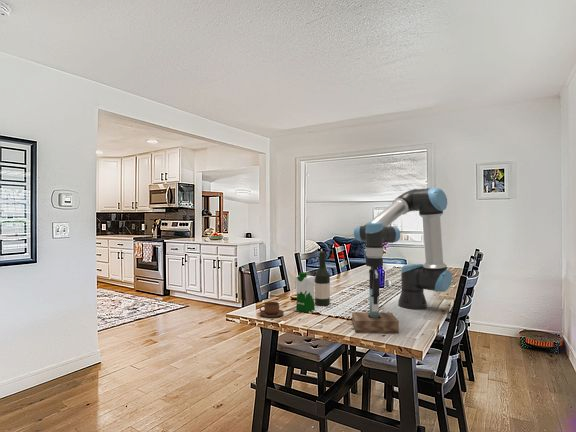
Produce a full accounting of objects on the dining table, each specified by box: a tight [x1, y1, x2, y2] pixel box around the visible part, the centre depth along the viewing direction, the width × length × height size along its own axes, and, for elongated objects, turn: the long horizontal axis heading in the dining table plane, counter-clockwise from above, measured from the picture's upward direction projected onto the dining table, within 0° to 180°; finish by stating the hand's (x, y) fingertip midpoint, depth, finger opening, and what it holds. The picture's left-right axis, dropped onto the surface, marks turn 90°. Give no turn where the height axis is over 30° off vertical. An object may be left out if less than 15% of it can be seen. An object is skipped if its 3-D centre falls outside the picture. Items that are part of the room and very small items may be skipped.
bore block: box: [351, 311, 400, 334], centre depth 163 cm, size 18×14×5 cm
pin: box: [368, 288, 380, 318], centre depth 163 cm, size 4×4×14 cm
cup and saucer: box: [259, 301, 285, 318], centre depth 184 cm, size 12×12×6 cm
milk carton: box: [294, 271, 316, 314], centre depth 194 cm, size 9×9×20 cm
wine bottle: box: [314, 250, 331, 307], centre depth 207 cm, size 8×8×30 cm
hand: (374, 309), depth 163 cm, fingers closed on pin, 4 cm apart
